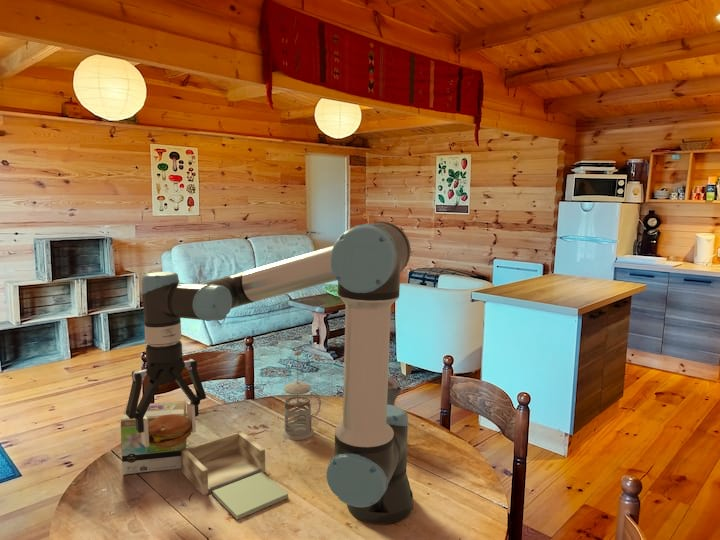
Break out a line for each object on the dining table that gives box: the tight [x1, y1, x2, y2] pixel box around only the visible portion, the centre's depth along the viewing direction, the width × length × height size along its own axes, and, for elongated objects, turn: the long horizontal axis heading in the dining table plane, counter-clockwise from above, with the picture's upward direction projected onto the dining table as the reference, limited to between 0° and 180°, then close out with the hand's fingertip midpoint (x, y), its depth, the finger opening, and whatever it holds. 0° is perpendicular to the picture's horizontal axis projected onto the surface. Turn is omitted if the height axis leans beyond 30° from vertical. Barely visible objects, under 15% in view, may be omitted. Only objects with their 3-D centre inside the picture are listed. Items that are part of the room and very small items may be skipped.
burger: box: [148, 414, 192, 448], centre depth 116 cm, size 10×9×5 cm
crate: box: [181, 430, 266, 496], centre depth 130 cm, size 13×16×6 cm
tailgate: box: [210, 469, 289, 520], centre depth 120 cm, size 13×13×1 cm
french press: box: [280, 350, 322, 441], centre depth 151 cm, size 10×12×25 cm
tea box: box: [120, 400, 187, 476], centre depth 133 cm, size 15×10×15 cm, turn 106°
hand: (169, 437), depth 117 cm, fingers closed on burger, 10 cm apart
